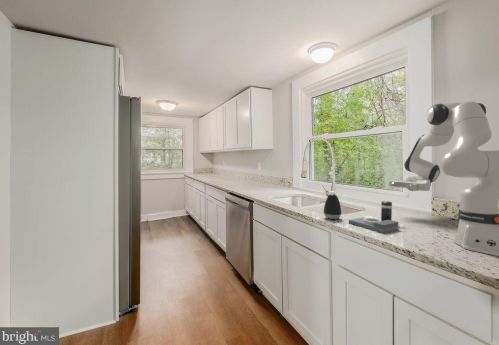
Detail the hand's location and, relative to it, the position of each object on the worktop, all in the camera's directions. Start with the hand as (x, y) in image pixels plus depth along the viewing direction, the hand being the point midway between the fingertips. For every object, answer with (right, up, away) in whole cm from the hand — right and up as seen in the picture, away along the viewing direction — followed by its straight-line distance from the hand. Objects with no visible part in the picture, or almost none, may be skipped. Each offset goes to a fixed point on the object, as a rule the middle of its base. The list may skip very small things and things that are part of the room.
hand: (400, 185), depth 135 cm
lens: (-11, -21, -5) cm, 24 cm away
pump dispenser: (-38, -21, +6) cm, 43 cm away
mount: (-22, -21, -11) cm, 32 cm away
